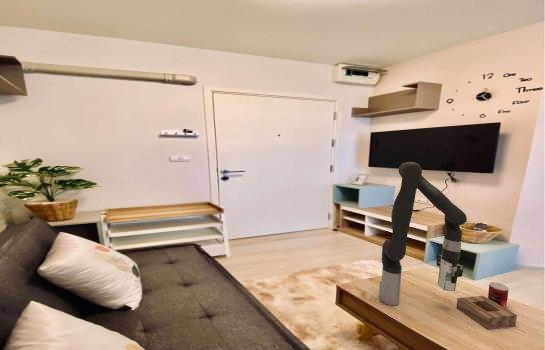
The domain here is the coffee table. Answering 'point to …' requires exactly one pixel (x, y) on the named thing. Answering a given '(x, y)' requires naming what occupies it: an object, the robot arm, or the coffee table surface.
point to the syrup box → (446, 276)
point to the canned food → (498, 293)
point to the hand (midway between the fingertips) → (447, 279)
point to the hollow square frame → (486, 312)
